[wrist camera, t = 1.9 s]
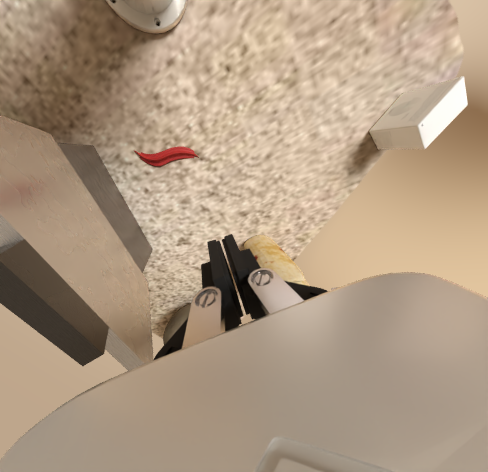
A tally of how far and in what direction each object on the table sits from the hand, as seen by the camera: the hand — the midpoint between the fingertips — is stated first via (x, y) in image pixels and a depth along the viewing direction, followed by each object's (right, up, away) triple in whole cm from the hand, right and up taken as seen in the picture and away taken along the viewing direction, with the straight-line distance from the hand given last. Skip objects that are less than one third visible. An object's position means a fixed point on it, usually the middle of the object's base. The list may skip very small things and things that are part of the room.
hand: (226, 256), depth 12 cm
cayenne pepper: (-14, +17, +23) cm, 31 cm away
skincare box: (+36, +29, +31) cm, 56 cm away
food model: (+5, -1, +36) cm, 36 cm away
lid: (-15, 0, +5) cm, 16 cm away
